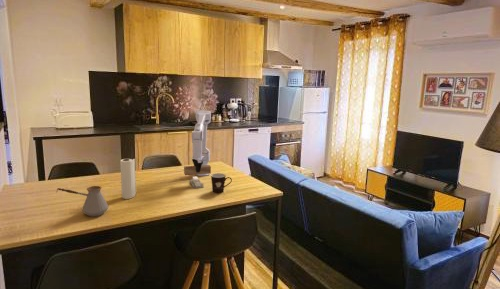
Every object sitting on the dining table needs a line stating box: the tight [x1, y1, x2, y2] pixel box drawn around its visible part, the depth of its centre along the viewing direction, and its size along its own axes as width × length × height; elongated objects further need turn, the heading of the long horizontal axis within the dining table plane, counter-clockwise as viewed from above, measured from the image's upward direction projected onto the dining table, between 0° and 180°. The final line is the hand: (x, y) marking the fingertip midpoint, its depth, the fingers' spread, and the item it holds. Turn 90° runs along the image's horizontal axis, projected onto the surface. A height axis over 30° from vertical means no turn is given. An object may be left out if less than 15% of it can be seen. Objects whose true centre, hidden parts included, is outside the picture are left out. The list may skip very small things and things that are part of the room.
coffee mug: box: [210, 172, 233, 194], centre depth 193 cm, size 12×9×10 cm
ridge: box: [189, 175, 205, 189], centre depth 206 cm, size 14×6×3 cm, turn 20°
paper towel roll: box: [119, 158, 137, 200], centre depth 178 cm, size 7×6×21 cm
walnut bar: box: [183, 164, 212, 176], centre depth 205 cm, size 4×16×4 cm, turn 110°
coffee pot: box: [55, 185, 109, 217], centre depth 155 cm, size 21×12×15 cm, turn 120°
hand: (197, 171), depth 205 cm, fingers closed on walnut bar, 4 cm apart
